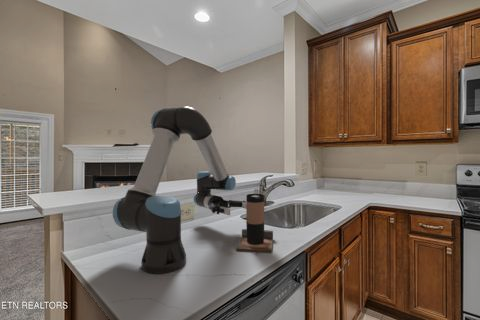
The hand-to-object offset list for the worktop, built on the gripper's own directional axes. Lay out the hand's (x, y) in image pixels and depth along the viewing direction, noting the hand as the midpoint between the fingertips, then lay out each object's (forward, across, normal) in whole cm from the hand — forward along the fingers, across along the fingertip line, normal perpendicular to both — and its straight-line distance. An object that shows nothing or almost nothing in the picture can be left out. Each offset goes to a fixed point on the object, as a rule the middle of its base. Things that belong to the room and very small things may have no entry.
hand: (241, 209), depth 108 cm
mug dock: (+9, 0, -14) cm, 16 cm away
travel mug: (+9, 0, -12) cm, 15 cm away
